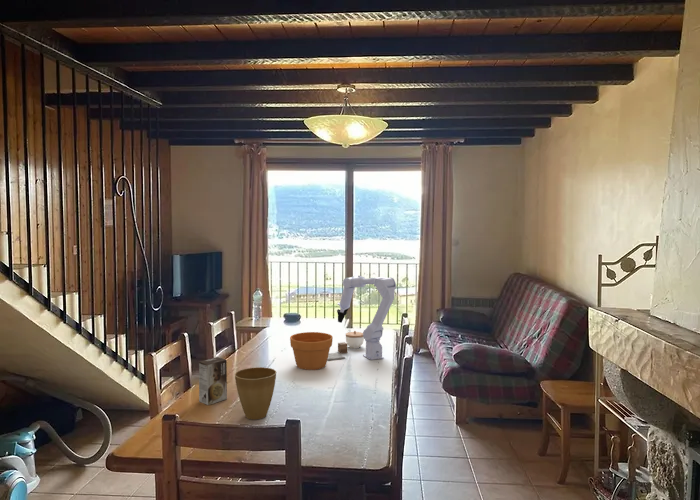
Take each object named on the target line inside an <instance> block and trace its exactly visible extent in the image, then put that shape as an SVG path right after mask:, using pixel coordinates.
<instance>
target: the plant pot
mask: <svg viewBox="0 0 700 500" xmlns="http://www.w3.org/2000/svg"><path fill="white" fill-rule="evenodd" d="M234 379H235V385H236V389H237V395H238V399H239V402H240V405H241V407H242V410H243V412H244V416H245V418H246V419H248V420H261V419H263V418H266V417H267V414H268V412H269V409H270V406H271V402H272V399H273V395H274V391H275V386H276V379H277V370H275V369H274V368H271V367H270V368H269V367H259V366H258V367H257V366H256V367H248V368H244V369H243V368H242V369H240V370H238V371H236V372H235V373H234Z"/></svg>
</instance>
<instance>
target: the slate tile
mask: <svg viewBox="0 0 700 500" xmlns="http://www.w3.org/2000/svg"><path fill="white" fill-rule="evenodd" d="M336 360H346V356H345V355H342V353H339V352H331V353H330V352H329V355H328V359H327V361H336Z"/></svg>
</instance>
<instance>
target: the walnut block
mask: <svg viewBox="0 0 700 500" xmlns="http://www.w3.org/2000/svg"><path fill="white" fill-rule="evenodd" d="M337 353H339V354H347V353H348V344H347V342H346V341H343V342H337Z"/></svg>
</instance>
